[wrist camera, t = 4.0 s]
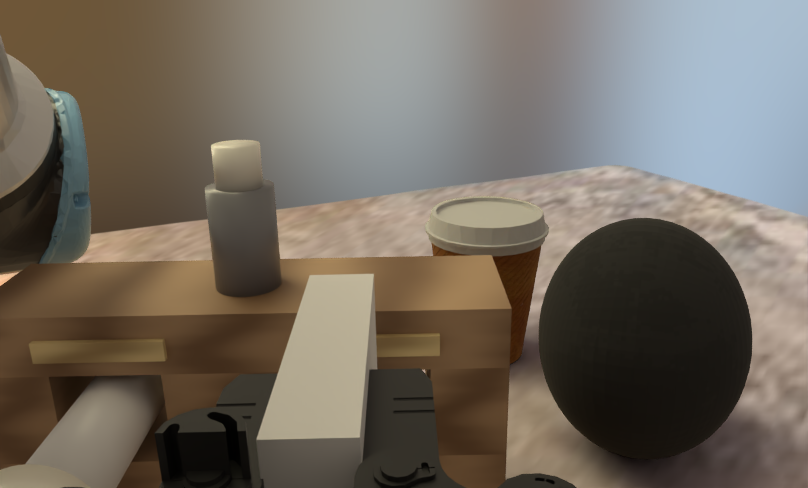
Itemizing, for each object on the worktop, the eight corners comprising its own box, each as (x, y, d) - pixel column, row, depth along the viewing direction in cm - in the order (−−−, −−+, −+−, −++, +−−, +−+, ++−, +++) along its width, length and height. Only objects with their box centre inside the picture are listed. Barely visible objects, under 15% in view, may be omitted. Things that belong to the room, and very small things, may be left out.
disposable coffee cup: (489, 393, 52) (493, 239, 48) (402, 349, 58) (399, 211, 54) (565, 350, 58) (575, 210, 54) (478, 315, 64) (481, 188, 60)
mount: (14, 575, 36) (-50, 322, 31) (76, 482, 43) (31, 263, 38) (503, 564, 36) (512, 311, 31) (485, 473, 43) (491, 255, 38)
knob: (-50, 629, 25) (-86, 510, 23) (113, 398, 40) (99, 314, 38) (95, 626, 25) (70, 507, 23) (205, 396, 40) (195, 312, 38)
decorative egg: (652, 537, 38) (684, 278, 33) (494, 431, 47) (501, 217, 42) (772, 453, 44) (814, 227, 39) (613, 374, 54) (631, 185, 49)
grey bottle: (208, 297, 33) (191, 152, 31) (224, 272, 36) (209, 138, 34) (275, 296, 33) (264, 150, 31) (286, 271, 36) (275, 137, 34)
